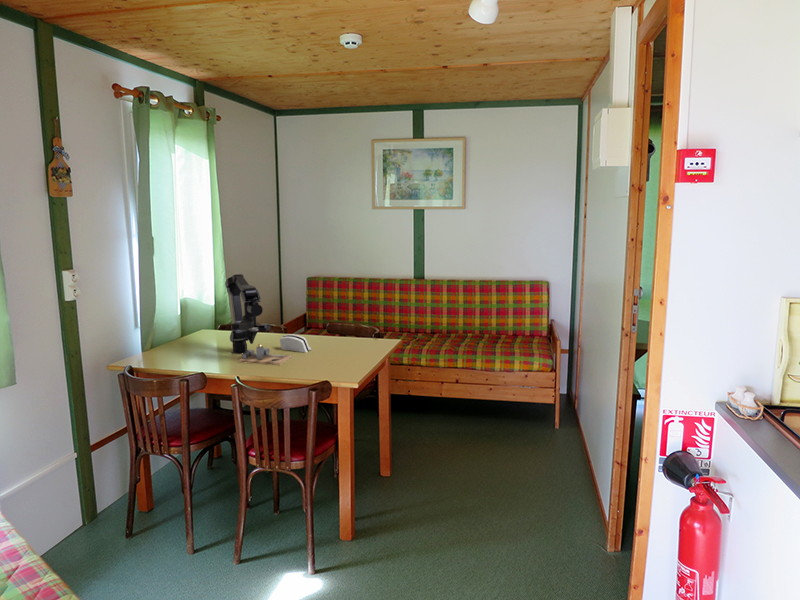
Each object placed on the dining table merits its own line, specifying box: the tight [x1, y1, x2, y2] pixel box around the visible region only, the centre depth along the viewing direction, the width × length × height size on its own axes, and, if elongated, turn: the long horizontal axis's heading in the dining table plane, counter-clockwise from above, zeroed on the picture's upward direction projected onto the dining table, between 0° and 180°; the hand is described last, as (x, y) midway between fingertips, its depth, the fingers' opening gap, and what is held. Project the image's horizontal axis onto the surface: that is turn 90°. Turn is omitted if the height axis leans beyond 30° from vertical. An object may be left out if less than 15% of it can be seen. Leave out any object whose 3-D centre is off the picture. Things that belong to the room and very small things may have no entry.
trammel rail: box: [241, 349, 286, 359], centre depth 282 cm, size 20×8×3 cm, turn 78°
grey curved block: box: [279, 333, 312, 353], centre depth 302 cm, size 17×5×10 cm, turn 64°
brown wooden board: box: [237, 353, 292, 366], centre depth 282 cm, size 22×14×1 cm, turn 78°
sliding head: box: [255, 343, 271, 359], centre depth 282 cm, size 4×8×7 cm, turn 168°
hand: (251, 343), depth 280 cm, fingers closed
